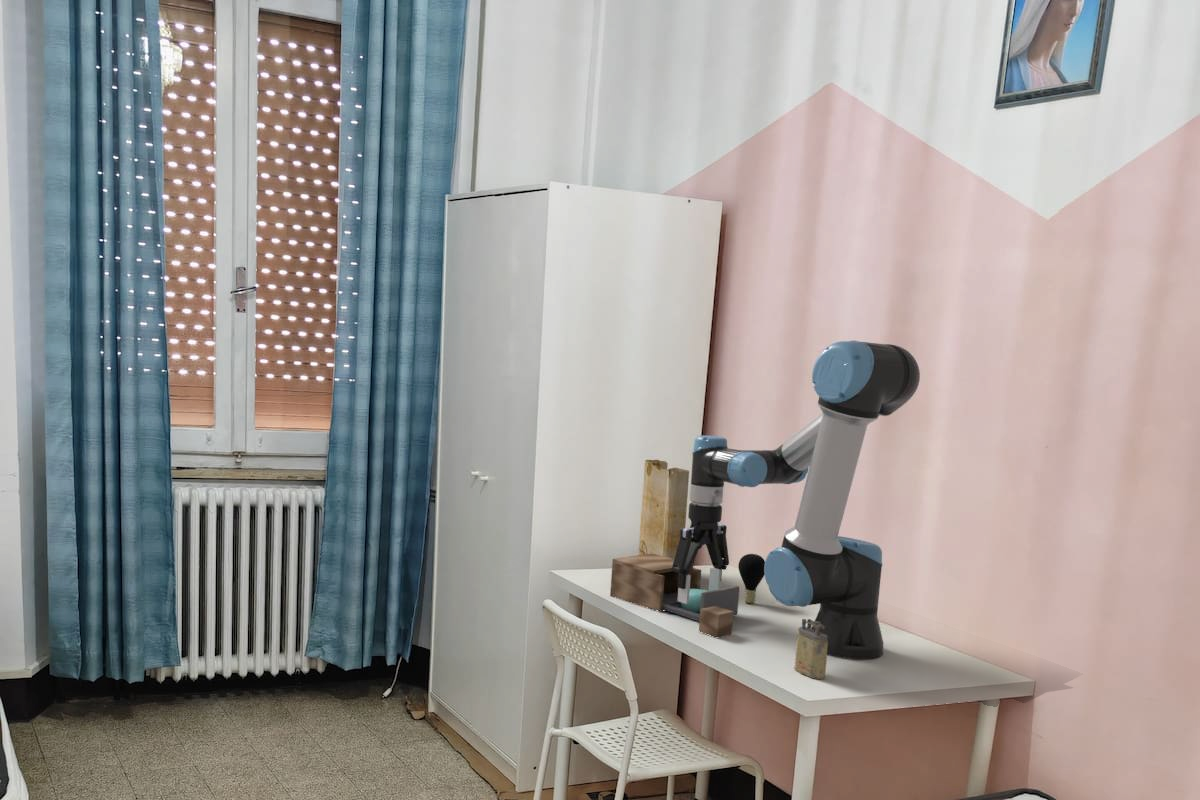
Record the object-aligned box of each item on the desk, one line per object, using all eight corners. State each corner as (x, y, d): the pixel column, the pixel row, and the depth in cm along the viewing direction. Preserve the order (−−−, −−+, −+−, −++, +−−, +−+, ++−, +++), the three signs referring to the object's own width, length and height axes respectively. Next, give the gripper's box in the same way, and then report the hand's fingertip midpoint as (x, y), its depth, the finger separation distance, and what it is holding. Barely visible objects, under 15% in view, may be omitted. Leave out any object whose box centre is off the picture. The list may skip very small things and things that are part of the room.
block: (731, 634, 209) (733, 611, 209) (716, 638, 206) (718, 614, 206) (713, 628, 213) (715, 605, 213) (698, 632, 209) (700, 609, 209)
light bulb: (755, 608, 233) (759, 558, 232) (730, 602, 237) (734, 553, 236) (768, 603, 238) (772, 555, 238) (743, 598, 242) (747, 550, 242)
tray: (737, 614, 224) (739, 586, 224) (702, 622, 215) (704, 593, 215) (678, 597, 237) (680, 570, 237) (643, 603, 228) (645, 576, 228)
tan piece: (634, 566, 269) (642, 458, 268) (656, 566, 271) (664, 459, 269) (659, 587, 247) (668, 469, 245) (682, 588, 248) (691, 470, 246)
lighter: (829, 678, 184) (833, 626, 184) (813, 680, 183) (817, 628, 182) (804, 666, 191) (808, 616, 190) (789, 668, 189) (793, 617, 188)
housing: (698, 603, 233) (701, 566, 233) (659, 611, 224) (662, 573, 223) (649, 588, 245) (652, 553, 244) (610, 595, 235) (612, 558, 235)
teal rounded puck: (695, 601, 230) (697, 587, 230) (722, 610, 224) (723, 595, 224) (673, 606, 225) (674, 591, 224) (700, 614, 219) (701, 599, 219)
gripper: (685, 509, 213) (678, 609, 214) (749, 503, 229) (742, 596, 230) (660, 503, 218) (652, 601, 219) (724, 498, 234) (717, 589, 235)
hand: (698, 599), depth 224 cm, fingers open, 10 cm apart
